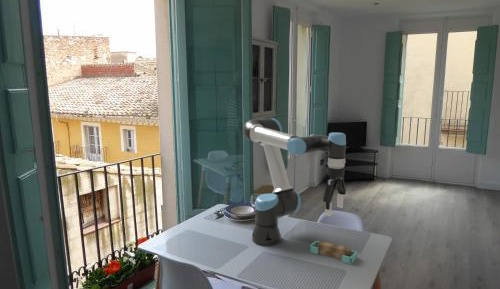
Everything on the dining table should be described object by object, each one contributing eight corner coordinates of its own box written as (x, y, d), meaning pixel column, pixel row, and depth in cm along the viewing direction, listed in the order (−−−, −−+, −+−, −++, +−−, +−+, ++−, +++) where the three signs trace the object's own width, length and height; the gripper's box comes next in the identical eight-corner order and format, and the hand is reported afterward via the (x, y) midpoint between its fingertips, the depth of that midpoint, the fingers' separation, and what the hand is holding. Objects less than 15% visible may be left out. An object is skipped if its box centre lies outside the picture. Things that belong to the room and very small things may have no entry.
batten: (317, 253, 169) (317, 243, 169) (319, 250, 172) (320, 240, 172) (348, 261, 162) (348, 251, 161) (350, 258, 165) (351, 248, 164)
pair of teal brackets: (309, 251, 170) (309, 245, 170) (316, 246, 176) (316, 240, 176) (351, 264, 158) (351, 258, 158) (357, 257, 164) (357, 251, 164)
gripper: (332, 173, 148) (330, 221, 152) (354, 163, 168) (351, 205, 172) (316, 171, 153) (314, 217, 156) (339, 161, 172) (337, 202, 176)
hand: (334, 211), depth 164 cm, fingers open, 13 cm apart
